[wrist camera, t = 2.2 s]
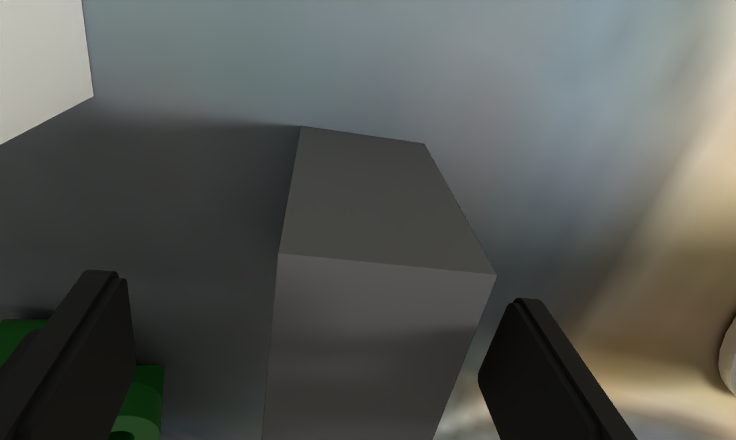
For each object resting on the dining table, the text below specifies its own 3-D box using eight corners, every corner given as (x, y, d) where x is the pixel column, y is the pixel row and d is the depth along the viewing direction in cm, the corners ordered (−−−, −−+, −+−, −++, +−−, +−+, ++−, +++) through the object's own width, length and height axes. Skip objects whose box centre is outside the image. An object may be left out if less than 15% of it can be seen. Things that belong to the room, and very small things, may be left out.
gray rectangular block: (423, 143, 16) (497, 275, 9) (391, 274, 19) (428, 450, 12) (301, 125, 15) (278, 252, 8) (287, 264, 18) (261, 445, 11)
